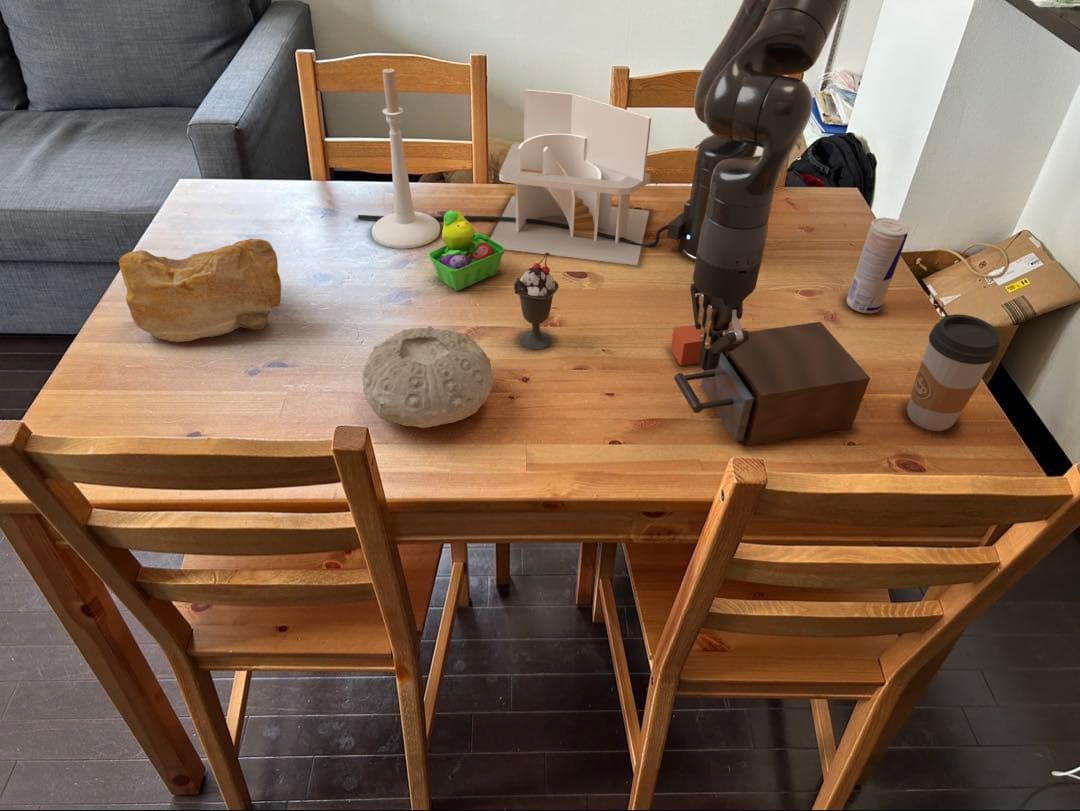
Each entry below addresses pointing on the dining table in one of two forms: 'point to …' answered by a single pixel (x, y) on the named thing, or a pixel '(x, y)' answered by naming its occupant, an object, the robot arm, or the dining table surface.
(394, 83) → the candlestick
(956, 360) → the coffee cup
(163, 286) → the rough brown rock
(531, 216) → the architectural model
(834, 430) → the cabinet
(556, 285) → the sundae
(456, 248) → the fruit basket
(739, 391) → the drawer
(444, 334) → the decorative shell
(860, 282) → the beverage can
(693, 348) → the block
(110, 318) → the dining table surface
